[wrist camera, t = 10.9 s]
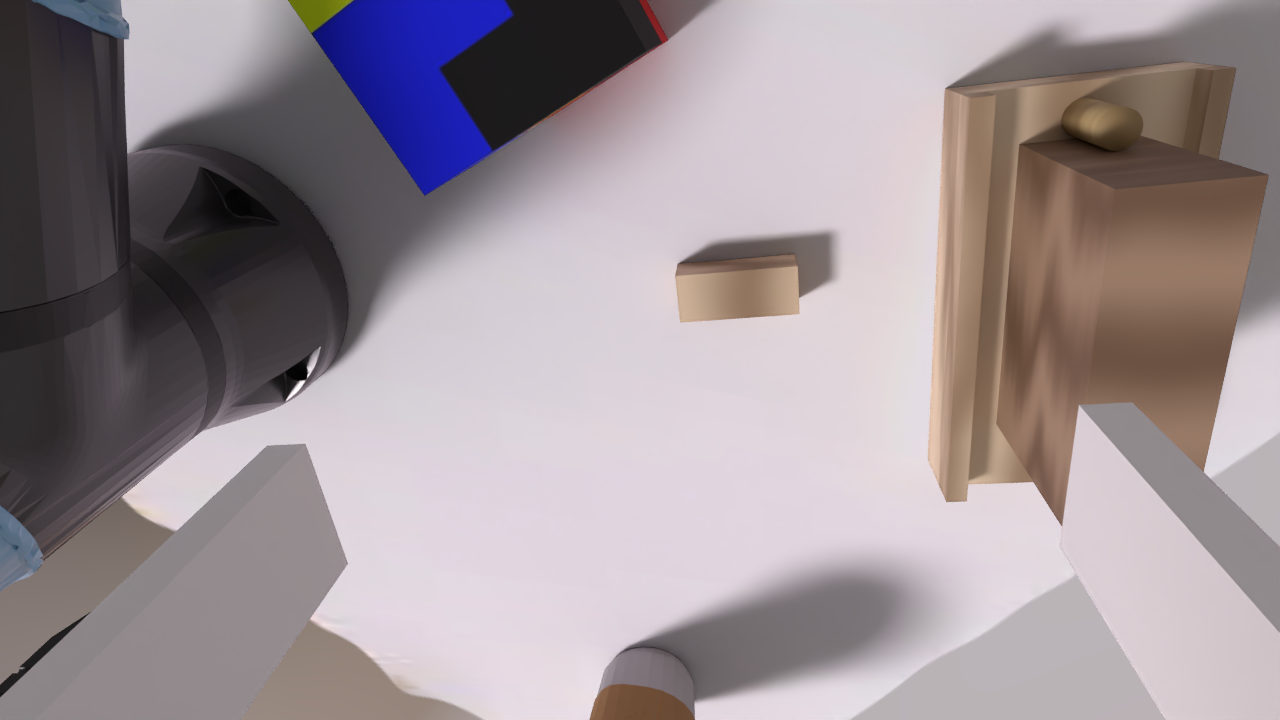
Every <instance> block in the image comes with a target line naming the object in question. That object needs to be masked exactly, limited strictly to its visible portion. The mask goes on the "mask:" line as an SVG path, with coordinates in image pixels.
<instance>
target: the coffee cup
mask: <svg viewBox="0 0 1280 720" xmlns="http://www.w3.org/2000/svg"><path fill="white" fill-rule="evenodd" d="M590 720H695V710H694V683H693V680H692V678H691V675H690V674H689V673H688V670H687V668H686V667H685V666H684V664H683V663H682V662H681V661H680V660H679V659H678V658H676V657H675V656H674V655H672V654H670V653H668V652H665V651H663V650H659V649H655V648H646V647H640V648H634V649H629V650H627V651H624V652H622V653H621V654H619V655H618V656H616V657H615V658H614V659H613V661H612V662H611V663H610V664H609V665H608V666H607V668H606V669H605V670H604V674H603V677H602V681H601V684H600V688H599V692H598V695H597V698H596V699H595V702H594V706H593V709H592V713H591V717H590Z"/></svg>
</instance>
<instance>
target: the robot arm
mask: <svg viewBox="0 0 1280 720" xmlns="http://www.w3.org/2000/svg"><path fill="white" fill-rule="evenodd" d="M124 39H129V24H128V23H127V22H126V20H125V19H124V18H123V17H122V9H121V0H0V591H2V590H3V589H4V588H6V587H7V586H9V585H10V584H12V583H13V582H15V581H18V580H21V579H25V578H27V577H29V576H31V575H32V574H33V573H34V572H36V571H37V570H38V569H39V568H40V566H41V565H42V564H41V563H42V562H43V561H44V560H45V559H46V558H48V557H49V556H50V555H51V554H52V553H54V552H55V551H56V550H57V549H59V548H60V547H61V546H62V545H63V544H65V543H66V542H67V541H68V540H69V539H71V538H72V537H73V536H74V535H76V534H77V533H78V532H79V531H80V530H82V529H83V528H84V527H85V526H86V525H88V524H89V523H90V522H91V521H93V520H94V519H95V518H96V517H97V516H99V515H100V514H101V513H102V512H103V511H105V510H106V509H107V508H108V507H110V506H111V505H112V504H113V503H114V502H116V501H117V500H118V499H119V498H120V497H122V496H123V495H124V494H125V493H127V492H128V491H129V490H130V489H131V488H133V487H134V486H135V485H136V484H137V483H139V482H140V481H141V480H142V479H144V478H145V477H146V476H147V475H148V474H150V473H151V472H152V471H153V470H154V469H156V468H157V467H158V466H159V465H161V464H162V463H163V462H164V461H165V460H167V459H168V458H169V457H170V456H172V455H173V454H174V453H175V452H177V451H178V450H179V449H180V448H181V447H183V446H184V445H185V444H186V443H187V442H189V441H190V440H191V439H192V438H194V437H195V436H196V435H197V434H199V433H200V432H202V431H203V430H207V429H210V428H213V427H217V426H220V425H223V424H226V423H230V422H233V421H236V420H240V419H243V418H246V417H250V416H253V415H256V414H260V413H263V412H266V411H269V410H272V409H274V408H277V407H279V406H281V405H283V404H285V403H286V402H288V401H290V400H292V399H293V398H295V397H296V396H298V395H299V394H300V393H301V392H303V391H304V390H305V389H306V388H307V387H308V386H309V385H311V384H312V383H313V382H314V381H315V380H316V379H317V378H318V377H320V376H321V375H322V374H323V373H324V372H325V371H326V369H327V368H328V367H329V366H330V364H331V363H332V361H333V360H334V358H335V357H336V355H337V353H338V351H339V349H340V346H341V344H342V341H343V338H344V335H345V330H346V325H347V315H348V300H347V291H346V285H345V280H344V276H343V272H342V269H341V266H340V263H339V260H338V258H337V255H336V253H335V251H334V248H333V246H332V244H331V242H330V240H329V239H328V237H327V235H326V233H325V232H324V230H323V229H322V227H321V226H320V224H319V223H318V221H317V220H316V218H315V217H314V216H313V214H312V213H311V212H310V211H309V210H308V208H307V207H306V206H305V205H304V204H303V203H302V202H301V201H300V200H299V198H298V197H297V196H296V195H295V194H293V193H292V192H291V191H290V190H289V189H288V188H287V187H286V186H285V185H283V184H282V183H281V182H280V181H278V180H277V179H276V178H274V177H273V176H272V175H270V174H269V173H267V172H266V171H264V170H263V169H261V168H259V167H258V166H256V165H254V164H252V163H250V162H248V161H246V160H244V159H242V158H240V157H238V156H235V155H233V154H230V153H227V152H224V151H221V150H218V149H214V148H210V147H204V146H198V145H188V144H176V145H165V146H159V147H155V148H151V149H147V150H143V151H139V152H134V153H131V154H127V138H126V114H125V82H124ZM1059 547H1060V548H1061V550H1062V552H1063V553H1064V555H1065V557H1066V558H1067V560H1068V561H1069V563H1070V565H1071V566H1072V568H1073V570H1074V571H1075V573H1076V575H1077V576H1078V578H1079V579H1080V581H1081V583H1082V584H1083V586H1084V587H1085V589H1086V591H1087V592H1088V594H1089V595H1090V597H1091V599H1092V601H1093V602H1094V604H1095V606H1096V607H1097V609H1098V610H1099V612H1100V613H1101V615H1102V617H1103V619H1104V620H1105V622H1106V624H1107V625H1108V627H1109V628H1110V630H1111V632H1112V633H1113V635H1114V636H1115V638H1116V640H1117V642H1118V643H1119V645H1120V646H1121V648H1122V650H1123V651H1124V653H1125V655H1126V656H1127V658H1128V659H1129V661H1130V663H1131V664H1132V666H1133V668H1134V669H1135V671H1136V673H1137V674H1138V676H1139V677H1140V679H1141V681H1142V682H1143V684H1144V686H1145V687H1146V689H1147V691H1148V692H1149V694H1150V695H1151V697H1152V698H1153V700H1154V702H1155V704H1156V705H1157V707H1158V709H1159V710H1160V712H1161V713H1162V715H1163V717H1164V718H1165V720H1280V547H1279V546H1278V545H1277V544H1276V543H1275V542H1274V541H1273V540H1272V539H1271V538H1270V537H1269V536H1268V535H1267V534H1266V533H1265V532H1264V531H1263V530H1262V529H1261V528H1260V527H1259V526H1258V525H1257V524H1256V523H1255V522H1254V521H1253V520H1252V519H1251V518H1250V517H1249V516H1248V515H1247V514H1246V513H1245V512H1244V511H1243V510H1242V509H1241V508H1239V506H1238V505H1237V504H1236V503H1235V502H1233V501H1232V500H1231V499H1230V498H1229V497H1228V496H1227V495H1226V494H1225V493H1224V492H1223V491H1222V490H1221V489H1220V488H1219V487H1218V486H1217V485H1216V484H1215V483H1214V482H1213V481H1212V480H1211V479H1210V478H1209V477H1208V476H1207V475H1206V474H1205V473H1204V472H1203V471H1202V470H1201V469H1200V468H1199V467H1198V466H1197V465H1196V464H1195V463H1194V462H1193V461H1192V460H1191V459H1190V458H1189V457H1188V456H1186V455H1185V454H1184V453H1183V452H1182V451H1181V450H1180V449H1179V448H1178V447H1177V446H1176V445H1175V444H1174V443H1173V442H1172V441H1171V440H1170V439H1169V438H1168V437H1167V436H1166V435H1165V434H1164V433H1163V432H1162V431H1161V430H1160V429H1159V428H1158V427H1157V426H1156V425H1155V424H1154V423H1153V422H1152V421H1151V420H1150V419H1149V418H1148V417H1147V416H1146V415H1145V414H1144V413H1143V412H1142V411H1141V410H1139V409H1138V408H1137V407H1136V406H1135V405H1134V404H1133V403H1132V402H1128V403H1108V404H1089V405H1079V408H1078V415H1077V422H1076V430H1075V437H1074V444H1073V451H1072V459H1071V466H1070V473H1069V480H1068V487H1067V495H1066V502H1065V509H1064V516H1063V524H1062V531H1061V538H1060V545H1059ZM347 564H348V563H347V560H346V557H345V554H344V551H343V549H342V546H341V543H340V540H339V537H338V534H337V532H336V529H335V526H334V523H333V520H332V517H331V515H330V512H329V509H328V506H327V503H326V500H325V498H324V495H323V492H322V489H321V486H320V484H319V481H318V478H317V475H316V472H315V469H314V467H313V464H312V461H311V458H310V455H309V452H308V450H307V447H306V444H294V445H274V446H266V447H265V448H264V449H263V450H262V451H261V452H260V453H259V454H258V455H257V456H256V457H255V458H254V459H253V460H252V461H251V462H250V463H248V464H247V465H246V466H245V467H244V468H243V469H242V470H241V471H240V472H239V473H238V474H237V475H236V476H235V477H234V478H233V479H231V480H230V481H229V482H228V483H227V484H226V485H225V486H224V487H223V488H222V489H221V490H220V491H219V492H218V493H217V494H216V495H215V496H213V497H212V498H211V499H210V500H209V501H208V502H207V503H206V504H205V505H204V506H203V507H202V508H201V509H200V510H199V511H198V512H196V513H195V514H194V515H193V516H192V517H191V518H190V519H189V520H188V521H187V522H186V523H185V524H184V525H183V526H182V527H181V528H180V529H178V530H177V531H176V532H175V533H174V534H173V535H172V536H171V537H170V538H169V539H168V540H167V541H166V542H165V543H164V544H163V545H162V546H160V547H159V548H158V549H157V550H156V551H155V552H154V553H153V554H152V555H151V556H150V557H149V558H148V559H147V560H146V561H145V562H143V563H142V564H141V565H140V566H139V567H138V568H137V569H136V570H135V571H134V572H133V573H132V574H131V575H130V576H129V577H128V578H127V579H125V580H124V581H123V582H122V583H121V584H120V585H119V586H118V587H117V588H116V589H115V590H114V591H113V592H112V593H111V594H110V595H108V596H107V597H106V598H105V599H104V600H103V601H102V602H101V603H100V604H99V605H98V606H97V607H96V608H95V609H94V610H93V611H91V612H90V613H88V614H87V615H85V616H84V617H82V618H81V619H79V620H77V621H76V622H74V623H73V624H71V625H70V626H68V627H67V628H65V629H64V630H62V631H61V632H59V633H57V634H56V635H54V636H53V637H52V638H50V639H49V640H48V641H47V642H46V643H45V644H44V645H43V646H42V647H41V648H40V649H39V650H38V651H36V652H35V653H34V654H33V655H32V656H31V657H30V658H29V659H28V660H27V661H26V662H25V663H24V664H22V665H21V666H20V667H19V672H18V673H15V674H12V675H11V676H9V677H8V678H7V679H6V680H5V681H4V682H3V683H2V684H1V685H0V720H240V719H241V718H242V716H243V715H244V713H245V712H246V711H247V709H248V708H249V706H250V705H251V703H252V702H253V700H254V699H255V698H256V696H257V695H258V693H259V692H260V690H261V689H262V687H263V686H264V685H265V683H266V682H267V680H268V679H269V677H270V676H271V674H272V673H273V671H274V670H275V669H276V667H277V666H278V664H279V663H280V661H281V660H282V658H283V657H284V656H285V654H286V653H287V651H288V650H289V648H290V647H291V645H292V644H293V642H294V641H295V639H296V638H297V637H298V635H299V634H300V632H301V631H302V629H303V628H304V627H305V625H306V623H307V622H308V621H309V619H310V618H311V616H312V615H313V614H314V612H315V611H316V609H317V608H318V606H319V605H320V603H321V602H322V600H323V599H324V598H325V596H326V595H327V593H328V592H329V590H330V589H331V587H332V586H333V585H334V583H335V582H336V580H337V579H338V577H339V576H340V574H341V573H342V571H343V570H344V569H345V567H346V566H347Z"/></svg>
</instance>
